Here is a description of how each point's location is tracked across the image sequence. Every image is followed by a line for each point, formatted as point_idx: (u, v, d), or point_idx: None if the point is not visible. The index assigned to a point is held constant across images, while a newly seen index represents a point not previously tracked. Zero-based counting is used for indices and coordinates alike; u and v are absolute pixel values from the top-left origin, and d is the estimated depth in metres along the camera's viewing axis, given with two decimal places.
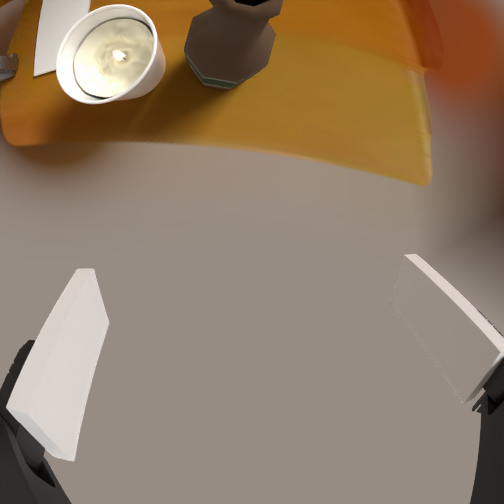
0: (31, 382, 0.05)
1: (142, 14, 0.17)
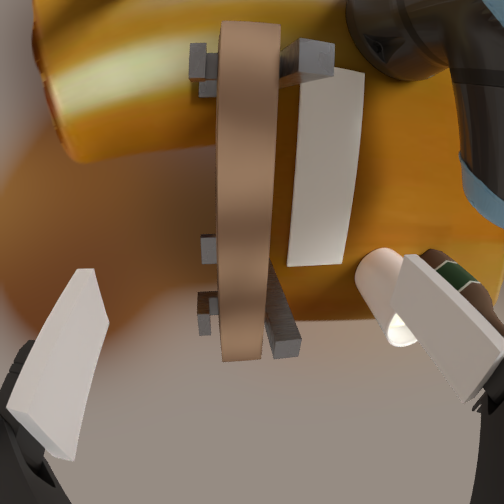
0: (31, 382, 0.05)
1: None
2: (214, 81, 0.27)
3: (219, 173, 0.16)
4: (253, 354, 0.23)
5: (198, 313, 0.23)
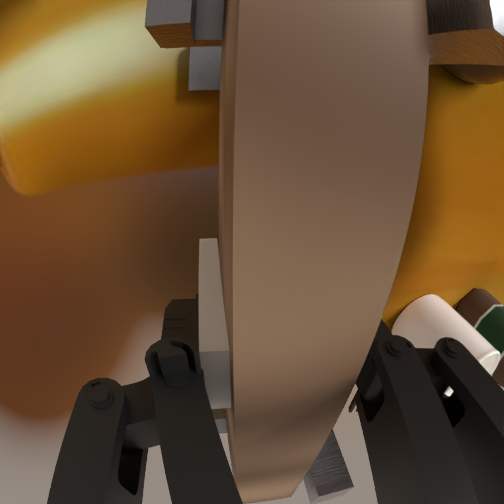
0: (217, 325, 0.08)
1: (499, 357, 0.21)
2: (214, 65, 0.16)
3: (238, 324, 0.05)
4: (281, 496, 0.12)
5: None
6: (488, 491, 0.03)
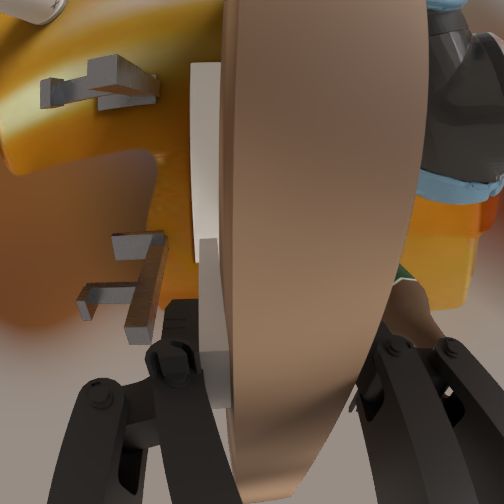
0: (217, 325, 0.08)
1: None
2: (110, 94, 0.27)
3: (237, 326, 0.05)
4: (281, 496, 0.12)
5: (77, 300, 0.24)
6: (488, 491, 0.03)
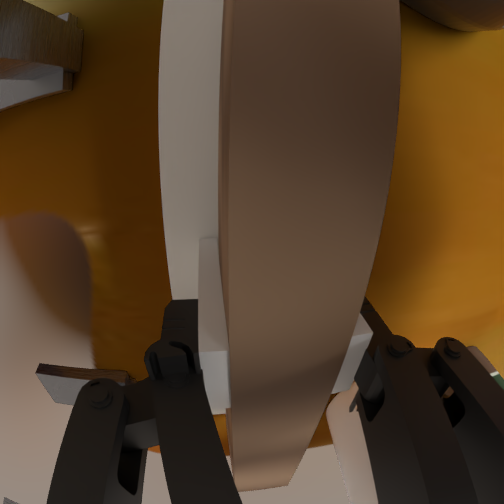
0: (217, 326, 0.08)
1: None
2: None
3: (233, 298, 0.06)
4: (278, 484, 0.13)
5: None
6: (488, 491, 0.03)
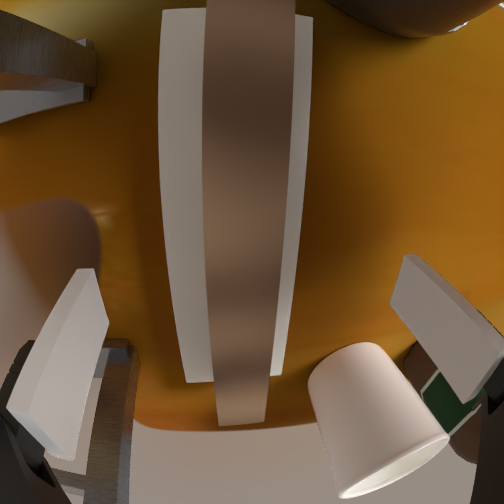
0: (31, 382, 0.05)
1: (447, 438, 0.15)
2: (5, 93, 0.10)
3: (205, 217, 0.11)
4: (255, 418, 0.18)
5: None
6: None
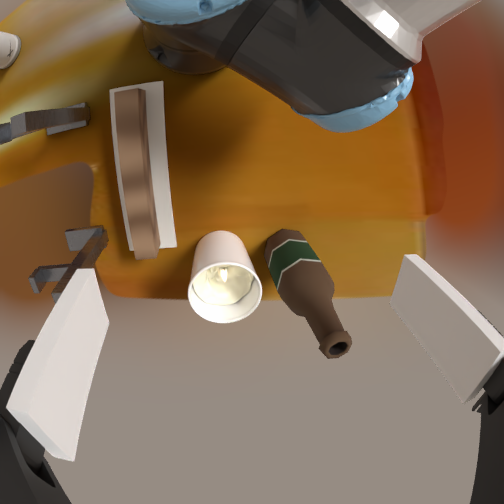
0: (31, 382, 0.05)
1: (250, 272, 0.37)
2: None
3: (119, 158, 0.34)
4: (151, 254, 0.41)
5: (29, 277, 0.30)
6: None
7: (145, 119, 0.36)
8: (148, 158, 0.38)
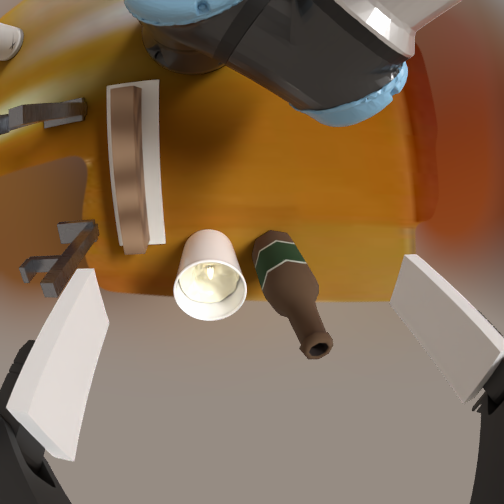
0: (31, 382, 0.05)
1: (235, 271, 0.38)
2: None
3: (112, 153, 0.34)
4: (139, 249, 0.41)
5: (19, 267, 0.30)
6: None
7: (140, 116, 0.36)
8: (141, 155, 0.39)
